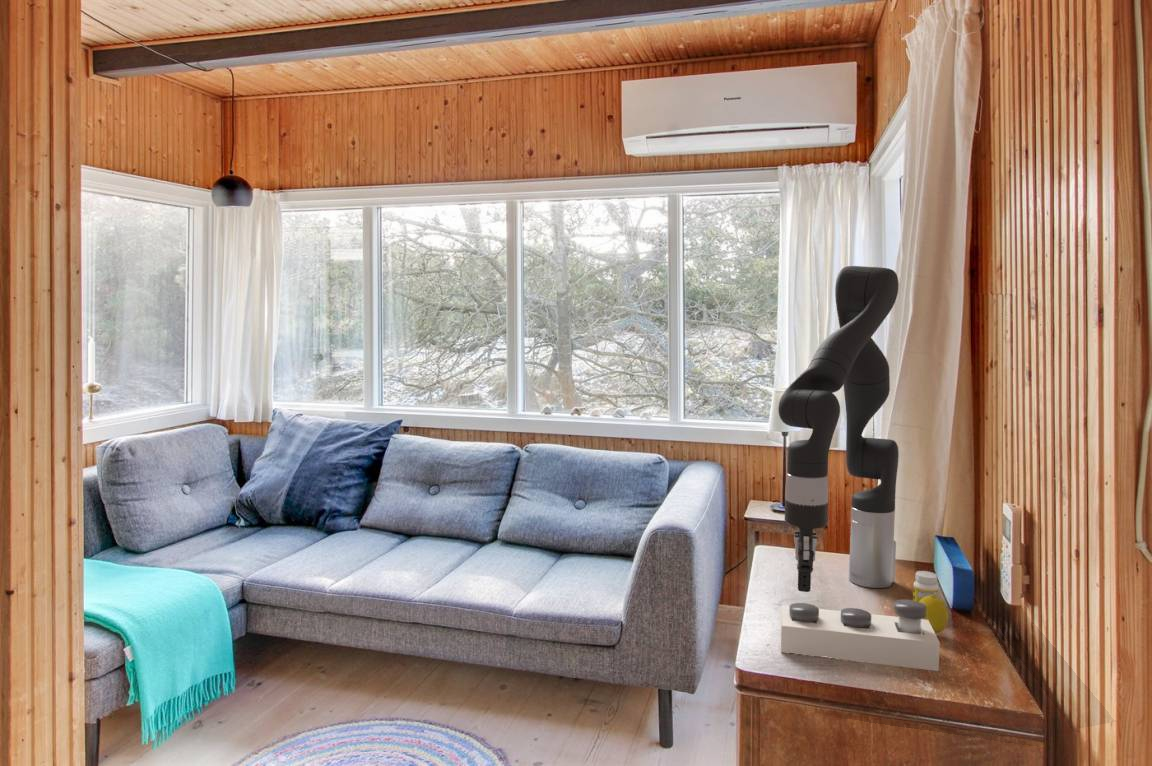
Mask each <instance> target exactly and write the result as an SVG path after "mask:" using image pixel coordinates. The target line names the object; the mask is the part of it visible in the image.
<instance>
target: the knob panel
mask: <svg viewBox="0 0 1152 766" xmlns="http://www.w3.org/2000/svg"><path fill="white" fill-rule="evenodd" d="M789 609H790V605H787V604H785V605H784V604H782V605H781V606H780V610H781V611H780V653H781V652H785V653H784V654H789V653H795V654H794V655H797V654H804V655H803V656H806V655H814V656H827V657H832V658H838V659H837V660H840V659H844V660H843V661H848V660H851V661H850V662H857V661H859V663H866V662H867V663H868V664H874V663H875V664H876V665H884V666H891V667H900V666H901V668H908V669H909V668H910V669H917V670H918V669H919V670H925V671H926V670H927V671H935V672H940V670H939V668H940V653H941V652H940V649H941V643H940V640H939V639H938V636H937V633H936V634H935V632H934V630H933V628H932V626H931V624H930V623H929V621H928V620H924V619H921V628H920V634H912V633H903V632H898V622H899V616H893V615H883V614H872V613H870V614H871V625H870V626H869V627H866V629H865V628H856V627H846V626H845V624H844V623H842V622H841V610H833V609H825V608H824V609H823V608H818V609H819V619H818V620H817V621H814V623H808V622H799V621H794V619H793V618H791V617H790V615H789ZM814 656H813V657H814ZM875 664H874V665H875Z"/></svg>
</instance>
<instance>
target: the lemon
mask: <svg viewBox="0 0 1152 766" xmlns="http://www.w3.org/2000/svg"><path fill="white" fill-rule="evenodd" d="M919 602H920V603H922V604H924V605H925V606H926V617H925V618H922V619H924V620H928V621H929V623H930V624H931V626H932V628H933V630H934V632H935V634H936V635H937V634H940V633H942V632H943V631H944V630H945V629H946V627H947V625H948V624H949V623H948V622H949V612H948V608H947V605H946V604H945V602H944V600H942V599H941V598H940V597H939V596H938V597H936V596H935V595H930V596H926V597H924V598H922V599H921V600H920V601H919Z"/></svg>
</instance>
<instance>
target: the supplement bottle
mask: <svg viewBox="0 0 1152 766" xmlns="http://www.w3.org/2000/svg"><path fill="white" fill-rule="evenodd" d="M914 579H915V581H914V582H913V585H912V586H913V587H912V600H913V601H917V602H919V601H920V600H921V599H922V598H924V597H926V596H930V595H935V596H936V597H938V598H939V596H940V595H939V593H940V592H939V590H940V587H939V586H940V585H939V584H938V575H937V574H936V573H935V572H931V571H927V570H918V571H916V572H915V578H914Z"/></svg>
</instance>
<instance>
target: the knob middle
mask: <svg viewBox="0 0 1152 766" xmlns="http://www.w3.org/2000/svg"><path fill="white" fill-rule="evenodd" d="M840 611H841V622H842V623H844V624H845V626H846V627H856V628H865V629H866V627H869V626H870V625H871V614H872V613H870V612H869V611H867V610H864V609H862V608H856V607H855V608H854V607H845V608H843V609H841V610H840Z"/></svg>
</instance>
